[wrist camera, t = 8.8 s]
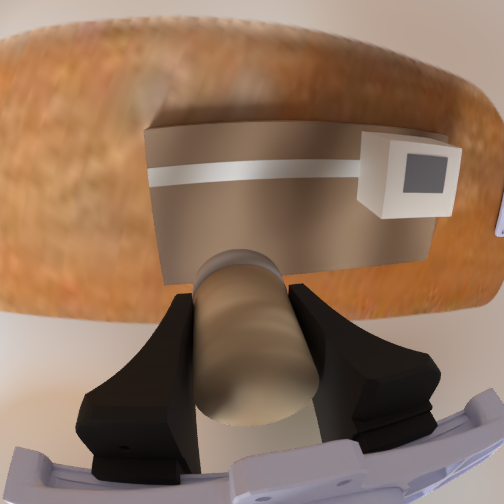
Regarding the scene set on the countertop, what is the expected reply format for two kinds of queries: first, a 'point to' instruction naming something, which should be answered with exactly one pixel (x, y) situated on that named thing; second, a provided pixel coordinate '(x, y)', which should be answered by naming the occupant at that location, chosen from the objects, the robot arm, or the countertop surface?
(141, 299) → the countertop surface
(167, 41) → the countertop surface
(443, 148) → the block
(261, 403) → the tan rounded cylinder
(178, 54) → the countertop surface
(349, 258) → the board
